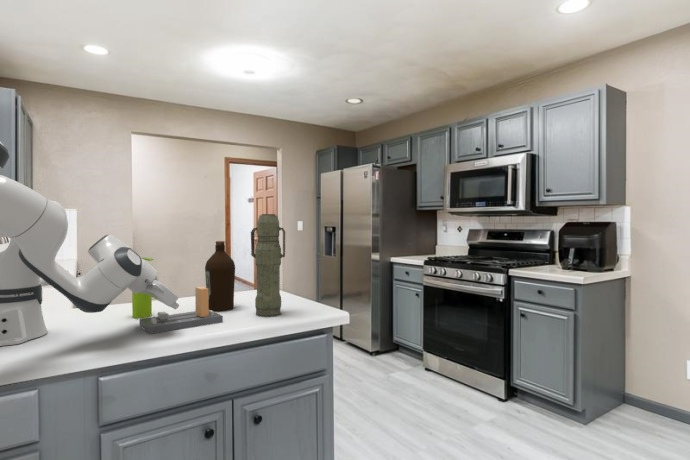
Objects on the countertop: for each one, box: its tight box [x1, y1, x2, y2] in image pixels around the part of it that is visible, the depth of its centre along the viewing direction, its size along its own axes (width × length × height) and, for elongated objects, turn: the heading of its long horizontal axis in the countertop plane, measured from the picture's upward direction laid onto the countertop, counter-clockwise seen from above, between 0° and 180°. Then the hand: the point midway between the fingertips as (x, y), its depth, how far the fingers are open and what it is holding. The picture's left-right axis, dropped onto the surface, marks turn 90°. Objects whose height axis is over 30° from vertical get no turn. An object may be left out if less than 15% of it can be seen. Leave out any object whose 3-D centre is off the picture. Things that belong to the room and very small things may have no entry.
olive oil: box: [204, 240, 236, 313], centre depth 153 cm, size 11×11×25 cm
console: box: [138, 310, 224, 335], centre depth 132 cm, size 22×12×4 cm, turn 129°
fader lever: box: [194, 286, 209, 317], centre depth 134 cm, size 2×5×9 cm, turn 39°
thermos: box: [250, 213, 286, 318], centre depth 145 cm, size 9×12×35 cm
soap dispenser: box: [131, 257, 154, 319], centre depth 141 cm, size 6×7×20 cm
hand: (176, 306), depth 129 cm, fingers closed
